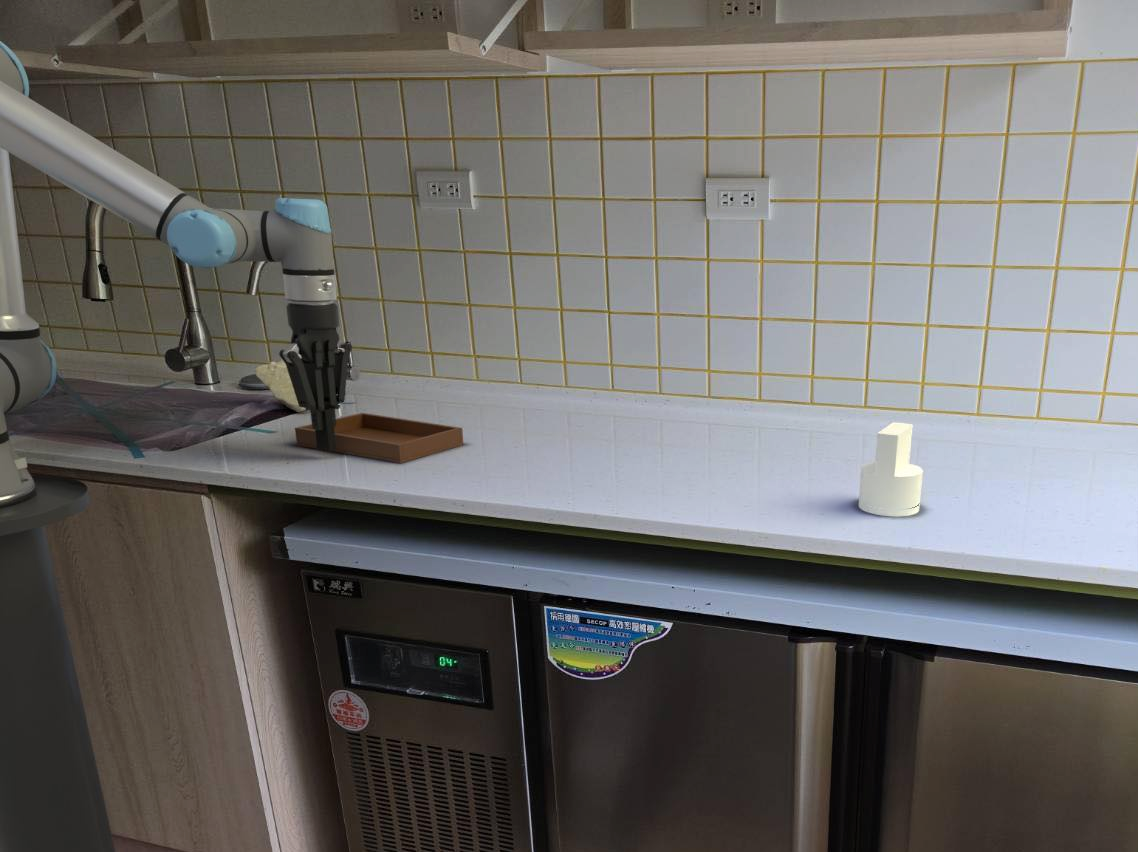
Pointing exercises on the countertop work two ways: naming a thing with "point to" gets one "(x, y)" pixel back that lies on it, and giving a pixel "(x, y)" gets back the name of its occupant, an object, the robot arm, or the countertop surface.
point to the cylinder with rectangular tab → (891, 475)
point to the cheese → (279, 383)
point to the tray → (385, 437)
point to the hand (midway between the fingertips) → (326, 448)
